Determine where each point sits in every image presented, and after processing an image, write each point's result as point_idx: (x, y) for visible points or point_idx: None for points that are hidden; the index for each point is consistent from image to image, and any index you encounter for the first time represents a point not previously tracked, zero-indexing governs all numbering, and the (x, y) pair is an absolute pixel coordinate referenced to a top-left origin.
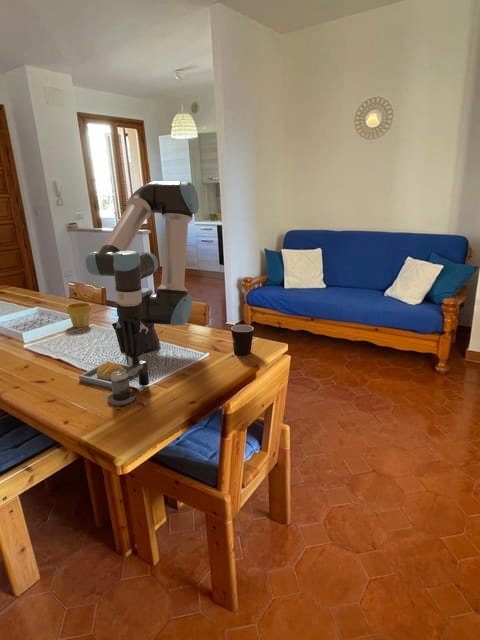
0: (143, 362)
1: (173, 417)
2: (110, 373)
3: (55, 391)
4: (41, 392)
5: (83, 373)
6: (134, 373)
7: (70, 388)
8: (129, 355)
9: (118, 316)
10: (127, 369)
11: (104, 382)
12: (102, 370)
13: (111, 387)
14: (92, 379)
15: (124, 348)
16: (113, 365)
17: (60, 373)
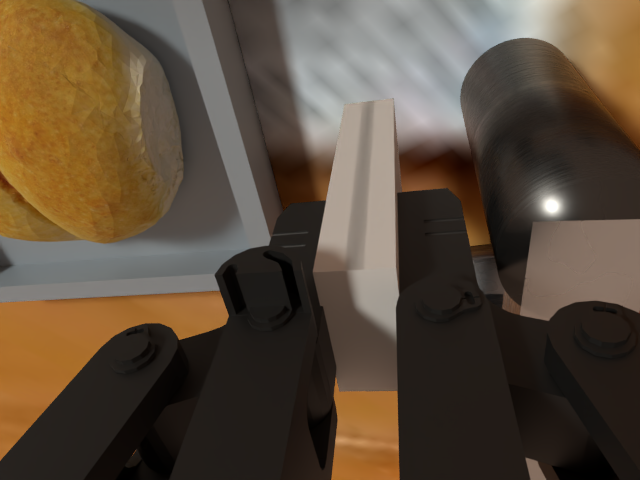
0: (625, 267)
1: None
2: (137, 223)
3: (57, 394)
4: (25, 420)
5: None
6: (398, 164)
7: (71, 349)
8: (336, 374)
9: None
10: (536, 475)
11: (209, 287)
12: (30, 228)
13: None
14: (93, 294)
15: (163, 452)
16: (37, 168)
17: None
